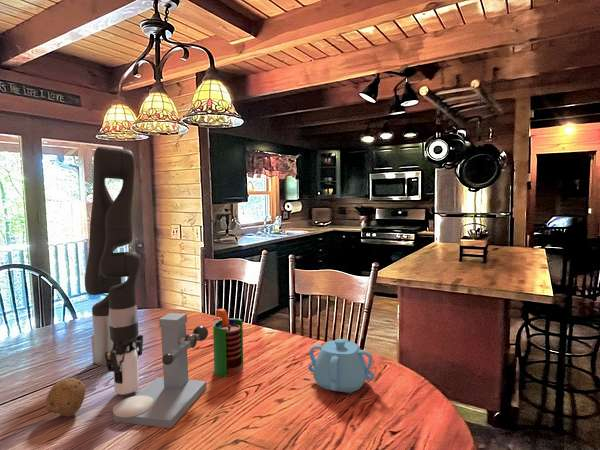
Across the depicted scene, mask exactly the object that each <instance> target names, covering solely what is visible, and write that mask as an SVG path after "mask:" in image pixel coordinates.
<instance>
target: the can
mask: <svg viewBox="0 0 600 450" xmlns="http://www.w3.org/2000/svg"><path fill="white" fill-rule="evenodd" d="M122 357H123V354H122V355H117V357H116V359H117V364H118V367H119V365H120V362H119V361H121V360H122ZM138 361H139V358H138V359H137V352H136V350H135V347H134V349H130V350H129V352H128V353H125V358H124V362H123V363H122V378H123V383H122V384H119V383H116V382H115V377H114V376H113V383H114V384H113V385H114V393H116V394H117V395H121V396H122V395H126V396H127V395H130V394H132V393H134V392H136V391H137V390H138V389H139V387H140V381H139V380H140V378H139V363H138Z"/></svg>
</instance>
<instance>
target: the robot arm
mask: <svg viewBox="0 0 600 450" xmlns="http://www.w3.org/2000/svg"><path fill="white" fill-rule="evenodd" d="M135 167H136V164H135V156H134V153H133V152H132V151H131V150H130V149H123V148H116V147H108V146H107V147H106V146H98V147H96V148H95V150H94V153H93V166H92V168H93V169H92V202H91V203H92V204H91V211H90V212H91V213H90V222H89V223H90V224H89V243H88V246H89V247H88V256H87V260H86V261H87V262H86V265H85V266H86V268H85V275H84V288H85V291H86V293H87V294H88V295H90V296H99V295H100V296H101V295H104V294H107V295H106V296H105V297H104V298H103V299H101V300H100V301H98V302H95V304H94V305H92V309H91V313H92V314H91V315H92V328H93V331H92V332H93V334H92V335H91V350H92V351H91V353H92V363H93V364H94V363H95V364H96V365H98V366H102V367H104V366H106V368H107V371H108V372H111V373H112V372H113V378H114V377H115V382H116V383H119V384H122V383H123V378H122V363H123V362H124V358H125V353H128V352H129V350H130V349H134V347H135V350H136V352H137V359H138V360H139V358H140V356H142V355H143V346H144V345H143V344H144V335H142V334H139V333H140V332H139V316H138V315H139V314H138V307H137V295H136V291H137V290H136V288H137V281H138V277H139V273H140V270H141V266H142V265H141V264H142V262H141V261H142V260H141V256H140V255H139V254H138V252H136V251H120V252H119V251H118V252H115V250H116V249H119V248H121V247H123V246H127V245H129V244H131V243H132V242H133V219H132V217H133V213H132V212H133V211H132V210H133V197H134V184H135V173H136V172H135V171H136V170H135ZM106 179H114V180H122V185H121V189H120V190H119V193H118V194H117V196H116V197H115V199H114V200H113V198H112V196H111V194H110V193H109V191H108V188H107V185H106ZM122 278H127V279H126V280H125V281H124V282H123V281H122V280H123V279H122ZM137 348H138V349H137ZM122 354H123V357H122V360H121V361H119V362H120V365H119V367H118V364H117V359H116V357H117V355H122Z"/></svg>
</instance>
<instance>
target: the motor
mask: <svg viewBox="0 0 600 450" xmlns="http://www.w3.org/2000/svg"><path fill="white" fill-rule="evenodd" d="M215 317H216V318H218V317H220V318H221V319H219V320H216V321H215V322H213V324H212V328H213V329H212V330H213V331H212V334H213V335H212V336H213V370H214V371H213V373H214V375H215V376H217V377H220V378H227V376H235V375H238V374H240V373H241V372H242V371H243V366H244V343H243V342H244V337H243V336H244V335H243V334H244V333H243V331H244V329H243V327H244V325H243V319H241V318H229V315H228V312H227V310H226V309H224V308H218V309H216V310H215Z"/></svg>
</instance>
